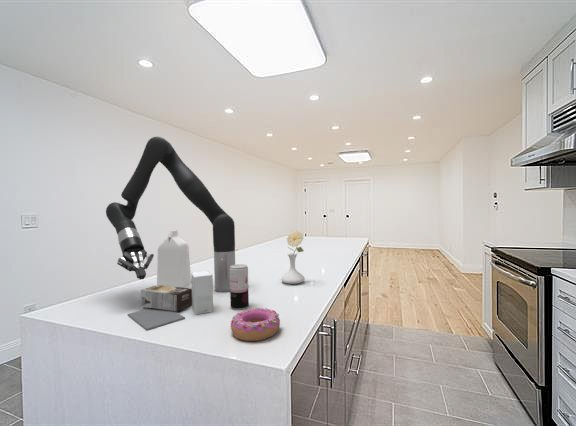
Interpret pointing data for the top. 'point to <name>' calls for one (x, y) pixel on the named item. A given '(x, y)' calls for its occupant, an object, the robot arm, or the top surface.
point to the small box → (202, 292)
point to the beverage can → (239, 286)
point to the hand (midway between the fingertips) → (142, 277)
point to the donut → (255, 324)
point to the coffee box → (166, 297)
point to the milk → (173, 262)
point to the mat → (155, 317)
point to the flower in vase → (293, 259)
